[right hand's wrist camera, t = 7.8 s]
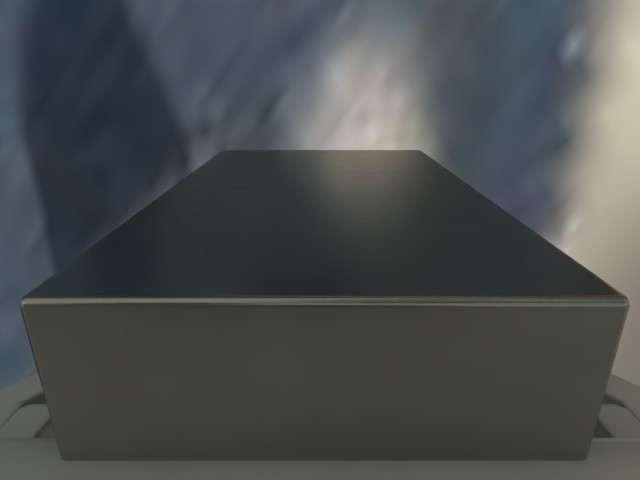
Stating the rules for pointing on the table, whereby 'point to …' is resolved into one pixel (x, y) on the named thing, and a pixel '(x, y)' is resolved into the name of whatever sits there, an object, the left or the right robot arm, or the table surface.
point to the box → (323, 322)
